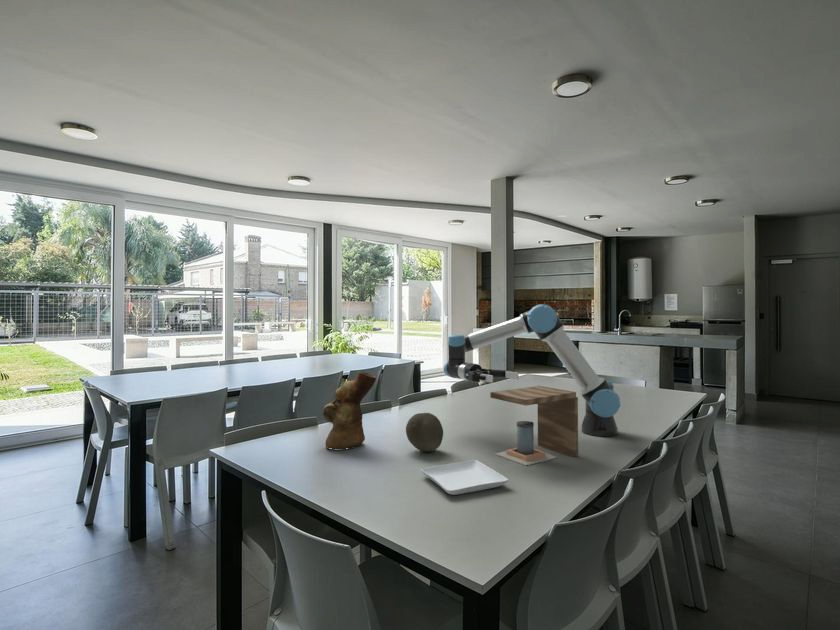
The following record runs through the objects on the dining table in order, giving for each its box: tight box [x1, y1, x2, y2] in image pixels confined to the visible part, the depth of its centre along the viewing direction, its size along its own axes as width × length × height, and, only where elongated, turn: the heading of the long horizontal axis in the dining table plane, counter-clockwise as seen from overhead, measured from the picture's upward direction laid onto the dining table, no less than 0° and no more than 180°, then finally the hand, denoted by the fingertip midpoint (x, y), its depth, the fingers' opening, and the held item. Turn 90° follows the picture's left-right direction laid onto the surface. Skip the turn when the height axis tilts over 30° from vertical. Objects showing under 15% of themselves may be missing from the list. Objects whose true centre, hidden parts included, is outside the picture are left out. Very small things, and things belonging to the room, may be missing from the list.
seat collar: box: [494, 447, 558, 467], centre depth 175 cm, size 16×16×2 cm
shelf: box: [489, 385, 579, 458], centre depth 174 cm, size 27×18×24 cm, turn 123°
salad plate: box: [420, 459, 509, 496], centre depth 149 cm, size 21×21×3 cm
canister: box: [516, 420, 535, 455], centre depth 175 cm, size 6×6×12 cm
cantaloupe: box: [405, 412, 444, 453], centre depth 181 cm, size 14×14×15 cm
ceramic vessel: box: [322, 370, 377, 449], centre depth 191 cm, size 16×22×30 cm
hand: (505, 377), depth 184 cm, fingers open, 13 cm apart
